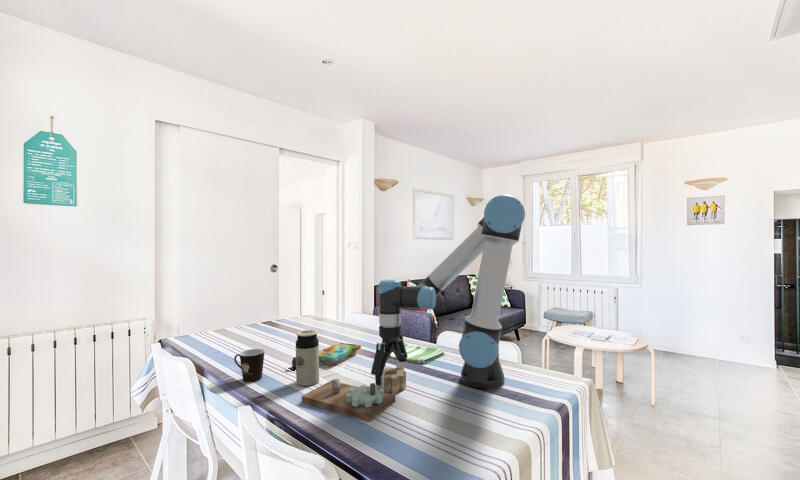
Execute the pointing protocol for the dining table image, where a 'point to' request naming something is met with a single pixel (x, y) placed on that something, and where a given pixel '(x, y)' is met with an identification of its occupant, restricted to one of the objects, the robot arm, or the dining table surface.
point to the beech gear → (394, 380)
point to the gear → (365, 395)
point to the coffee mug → (251, 364)
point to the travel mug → (307, 358)
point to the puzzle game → (337, 353)
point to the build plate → (293, 364)
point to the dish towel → (420, 354)
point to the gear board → (344, 401)
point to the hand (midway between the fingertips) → (390, 386)
